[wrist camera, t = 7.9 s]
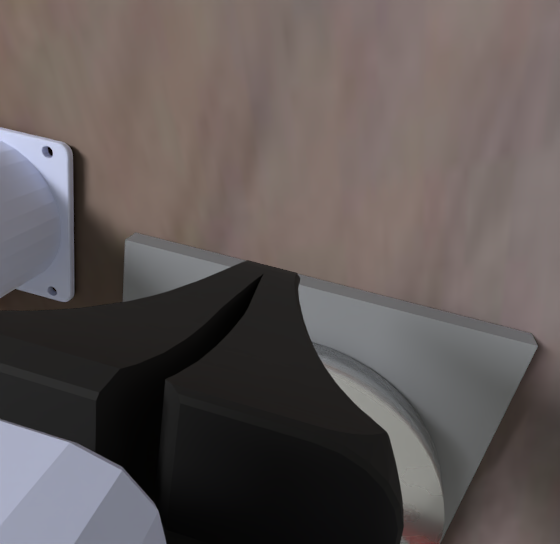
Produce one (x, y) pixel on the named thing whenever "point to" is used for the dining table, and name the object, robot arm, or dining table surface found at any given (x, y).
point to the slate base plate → (384, 350)
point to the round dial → (397, 444)
